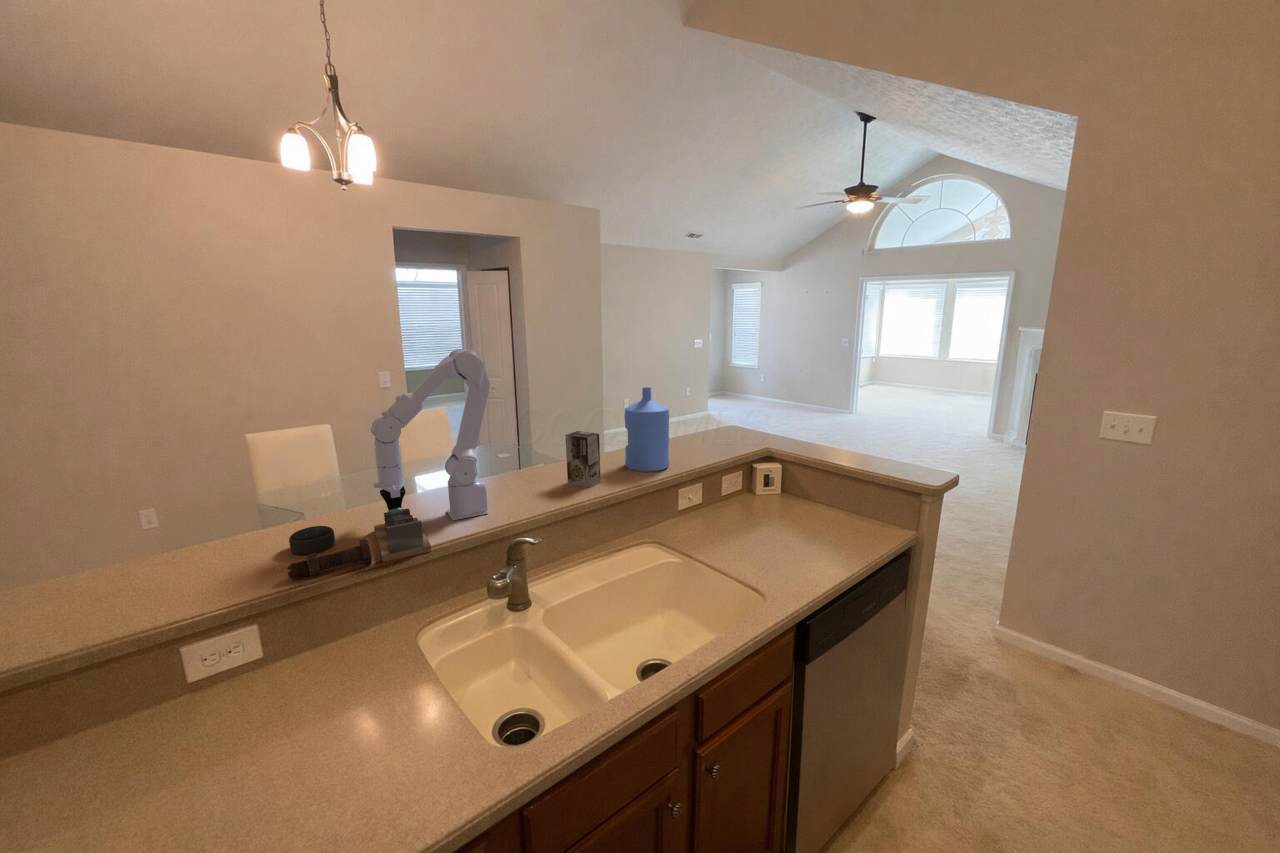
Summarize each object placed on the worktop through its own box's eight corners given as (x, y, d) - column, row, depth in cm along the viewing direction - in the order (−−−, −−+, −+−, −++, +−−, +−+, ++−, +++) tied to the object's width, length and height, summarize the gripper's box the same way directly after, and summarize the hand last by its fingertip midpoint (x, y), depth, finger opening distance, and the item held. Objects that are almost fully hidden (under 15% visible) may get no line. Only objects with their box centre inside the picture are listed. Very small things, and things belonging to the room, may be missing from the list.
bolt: (291, 587, 107) (371, 565, 115) (289, 585, 103) (373, 562, 111) (286, 559, 108) (366, 539, 116) (284, 556, 104) (367, 536, 112)
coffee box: (601, 482, 167) (600, 433, 164) (589, 487, 162) (587, 437, 159) (579, 477, 172) (577, 430, 169) (566, 483, 167) (564, 434, 164)
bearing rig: (374, 530, 130) (371, 502, 129) (417, 522, 135) (414, 495, 134) (382, 562, 114) (379, 529, 112) (431, 551, 119) (428, 520, 117)
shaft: (387, 523, 130) (386, 508, 129) (405, 520, 132) (403, 505, 131) (395, 545, 117) (393, 529, 116) (414, 541, 119) (412, 525, 118)
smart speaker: (281, 555, 118) (278, 539, 117) (310, 539, 126) (308, 523, 125) (316, 557, 116) (314, 541, 116) (344, 541, 125) (342, 525, 124)
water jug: (678, 465, 185) (678, 387, 179) (648, 475, 174) (647, 392, 168) (646, 458, 196) (645, 383, 190) (616, 466, 185) (614, 388, 179)
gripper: (369, 460, 133) (375, 510, 136) (374, 474, 121) (380, 529, 124) (399, 456, 137) (404, 505, 140) (407, 470, 125) (412, 523, 127)
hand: (395, 516), depth 132 cm, fingers closed
